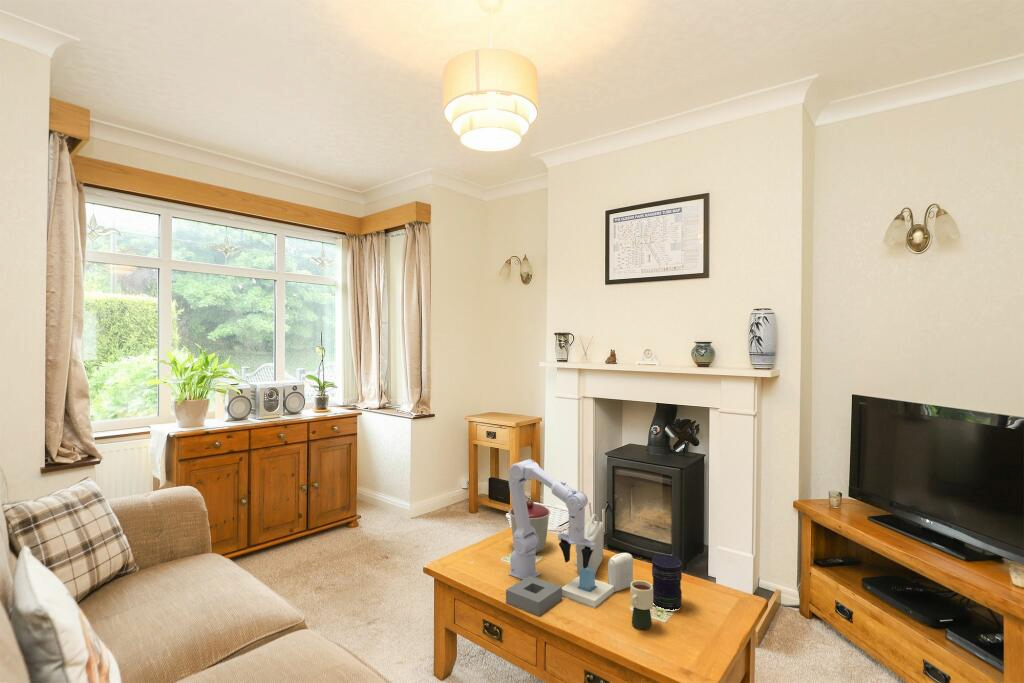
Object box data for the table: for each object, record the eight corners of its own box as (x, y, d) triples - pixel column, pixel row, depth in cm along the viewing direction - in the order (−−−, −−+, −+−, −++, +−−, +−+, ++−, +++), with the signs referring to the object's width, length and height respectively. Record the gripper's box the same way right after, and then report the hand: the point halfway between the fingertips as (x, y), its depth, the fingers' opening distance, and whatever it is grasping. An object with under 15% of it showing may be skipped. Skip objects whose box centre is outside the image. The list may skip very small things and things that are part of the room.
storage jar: (650, 608, 177) (650, 564, 177) (653, 595, 186) (653, 553, 186) (680, 614, 173) (680, 569, 173) (682, 600, 182) (682, 557, 182)
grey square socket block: (505, 602, 180) (505, 589, 180) (529, 587, 191) (529, 575, 191) (538, 616, 172) (538, 602, 171) (561, 599, 182) (561, 586, 182)
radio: (585, 554, 221) (585, 496, 220) (604, 557, 218) (604, 498, 217) (571, 576, 200) (572, 511, 200) (593, 580, 197) (593, 514, 197)
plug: (579, 593, 186) (579, 570, 186) (586, 588, 190) (586, 566, 190) (589, 596, 183) (589, 574, 183) (595, 591, 187) (595, 569, 187)
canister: (537, 561, 214) (537, 510, 214) (500, 551, 224) (500, 502, 223) (557, 546, 229) (557, 499, 229) (522, 538, 239) (523, 492, 239)
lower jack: (560, 595, 185) (560, 588, 185) (580, 581, 196) (580, 574, 196) (594, 608, 177) (594, 601, 176) (614, 592, 187) (614, 585, 187)
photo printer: (626, 581, 196) (626, 549, 196) (634, 586, 192) (634, 552, 192) (606, 588, 190) (606, 555, 190) (614, 593, 187) (614, 559, 187)
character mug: (640, 615, 172) (640, 576, 172) (660, 623, 167) (660, 583, 167) (622, 628, 165) (622, 587, 164) (642, 637, 160) (642, 595, 159)
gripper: (553, 525, 189) (553, 562, 189) (588, 534, 180) (588, 574, 180) (564, 519, 194) (563, 556, 194) (598, 529, 185) (598, 567, 185)
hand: (576, 564), depth 187 cm, fingers open, 7 cm apart
